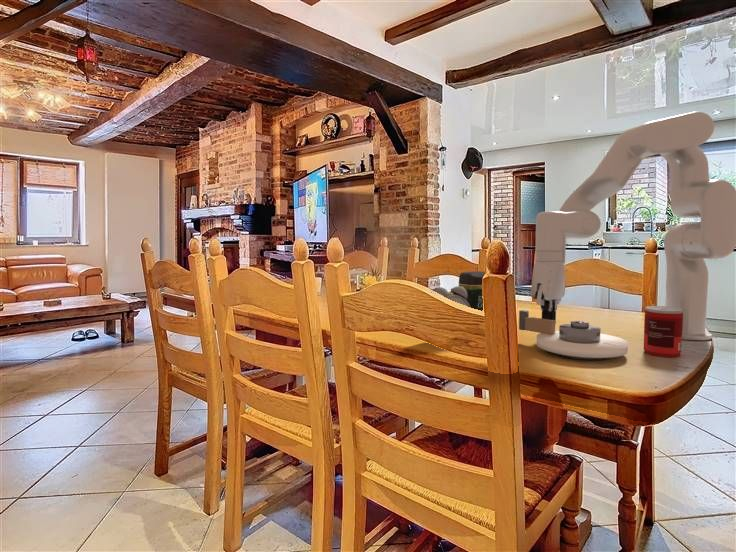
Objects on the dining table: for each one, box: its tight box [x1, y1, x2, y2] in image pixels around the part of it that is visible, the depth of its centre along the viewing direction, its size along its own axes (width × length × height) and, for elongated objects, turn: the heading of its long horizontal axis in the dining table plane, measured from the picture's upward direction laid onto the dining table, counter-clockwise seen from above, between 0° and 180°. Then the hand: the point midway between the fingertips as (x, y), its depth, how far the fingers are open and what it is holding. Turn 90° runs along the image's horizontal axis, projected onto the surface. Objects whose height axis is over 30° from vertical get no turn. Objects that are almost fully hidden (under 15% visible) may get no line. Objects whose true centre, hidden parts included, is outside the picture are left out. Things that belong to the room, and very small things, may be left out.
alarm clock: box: [432, 285, 470, 307], centre depth 124 cm, size 12×7×15 cm, turn 110°
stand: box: [550, 352, 613, 361], centre depth 110 cm, size 14×14×1 cm
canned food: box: [643, 305, 683, 358], centre depth 108 cm, size 8×8×11 cm
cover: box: [558, 320, 602, 344], centre depth 109 cm, size 9×9×4 cm
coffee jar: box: [458, 270, 486, 311], centre depth 131 cm, size 10×8×19 cm
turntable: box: [518, 309, 629, 359], centre depth 112 cm, size 20×27×7 cm
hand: (548, 324), depth 123 cm, fingers closed
